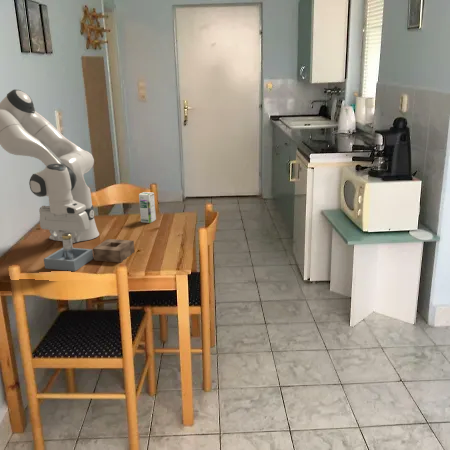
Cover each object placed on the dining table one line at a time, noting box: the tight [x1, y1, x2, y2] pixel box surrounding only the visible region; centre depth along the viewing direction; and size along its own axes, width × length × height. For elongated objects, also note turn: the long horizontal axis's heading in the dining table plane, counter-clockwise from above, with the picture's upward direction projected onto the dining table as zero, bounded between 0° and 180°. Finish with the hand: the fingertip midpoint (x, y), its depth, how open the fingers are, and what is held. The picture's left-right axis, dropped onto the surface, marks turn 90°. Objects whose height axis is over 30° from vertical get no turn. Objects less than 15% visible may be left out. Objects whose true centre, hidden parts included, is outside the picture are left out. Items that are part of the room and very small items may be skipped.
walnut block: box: [92, 238, 135, 263], centre depth 201 cm, size 12×12×5 cm
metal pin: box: [62, 233, 74, 260], centre depth 194 cm, size 4×4×11 cm
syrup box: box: [138, 191, 157, 224], centre depth 245 cm, size 6×6×14 cm
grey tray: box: [43, 247, 94, 272], centre depth 195 cm, size 13×13×4 cm
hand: (66, 240), depth 193 cm, fingers open, 8 cm apart
